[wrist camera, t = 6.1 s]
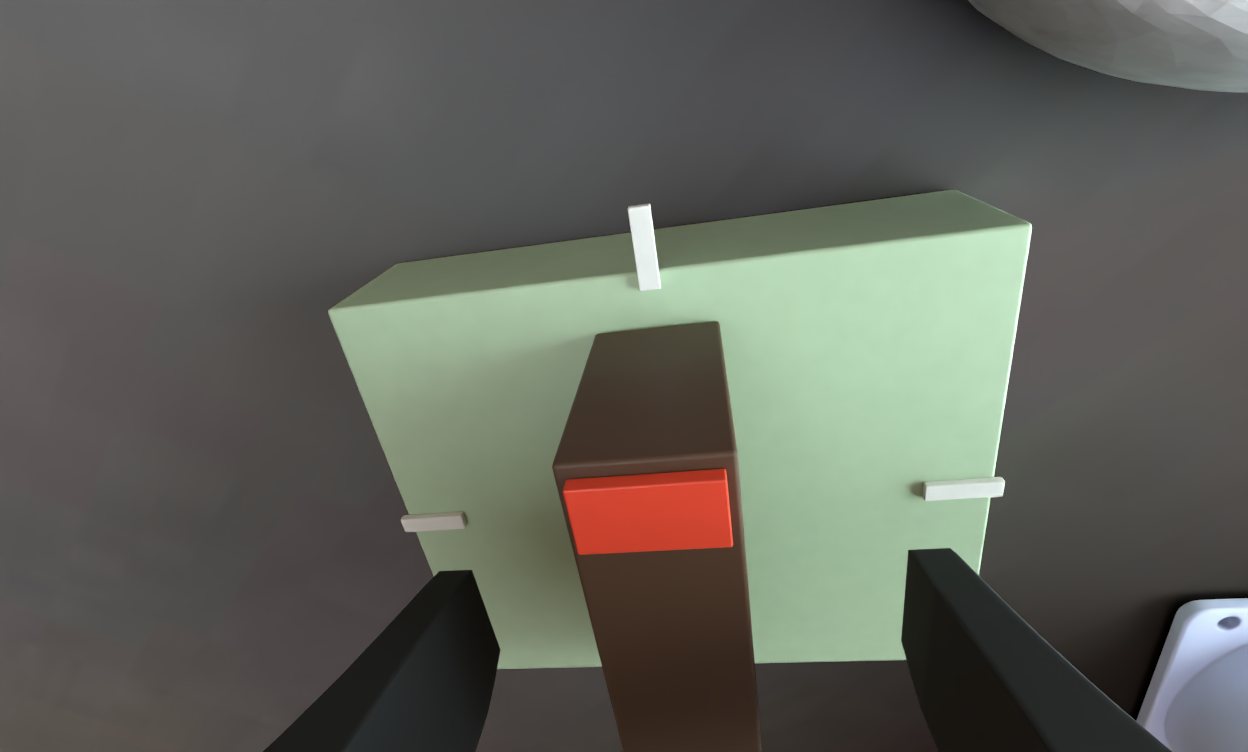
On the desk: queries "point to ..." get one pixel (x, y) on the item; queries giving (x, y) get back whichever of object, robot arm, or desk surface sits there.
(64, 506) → the desk surface
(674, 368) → the brown block
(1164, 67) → the dish
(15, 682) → the desk surface
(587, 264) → the stand
